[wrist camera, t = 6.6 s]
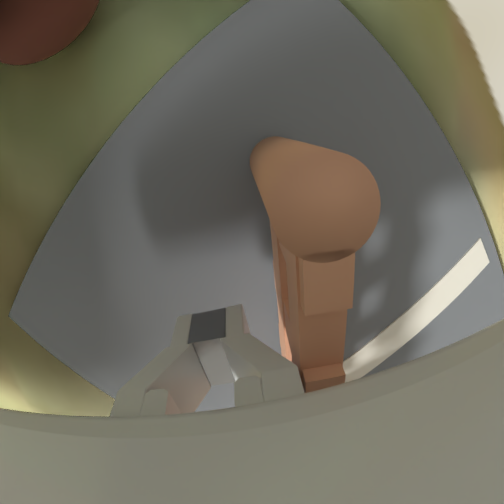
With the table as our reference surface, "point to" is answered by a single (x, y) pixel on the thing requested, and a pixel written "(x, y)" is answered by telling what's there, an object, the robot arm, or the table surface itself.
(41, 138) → the table surface
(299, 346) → the hinged fence panel
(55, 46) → the figurine character
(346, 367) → the card
